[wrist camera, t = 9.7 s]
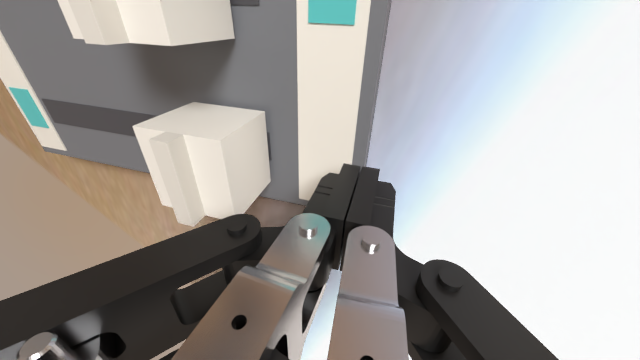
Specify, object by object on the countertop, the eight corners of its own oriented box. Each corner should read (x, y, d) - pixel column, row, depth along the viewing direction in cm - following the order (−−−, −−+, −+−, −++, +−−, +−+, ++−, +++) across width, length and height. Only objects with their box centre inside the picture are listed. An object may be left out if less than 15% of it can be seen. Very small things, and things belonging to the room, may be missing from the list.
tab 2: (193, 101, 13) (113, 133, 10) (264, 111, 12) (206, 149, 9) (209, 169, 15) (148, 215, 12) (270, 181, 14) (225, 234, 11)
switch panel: (-58, -103, 14) (-127, -121, 12) (413, -146, 8) (415, -189, 7) (72, 140, 21) (42, 152, 19) (361, 196, 16) (356, 218, 14)
